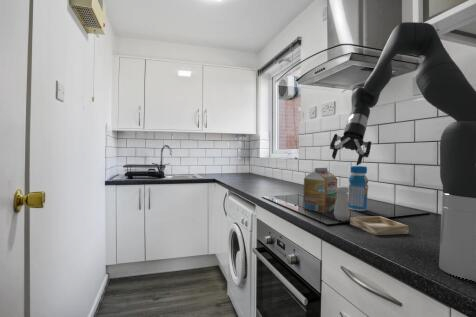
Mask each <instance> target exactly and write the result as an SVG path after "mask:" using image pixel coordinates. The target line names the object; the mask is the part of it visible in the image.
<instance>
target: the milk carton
mask: <svg viewBox="0 0 476 317" xmlns="http://www.w3.org/2000/svg"><path fill="white" fill-rule="evenodd" d="M337 187H338V178H337V177H336V176H335V175H334V174H333V173H331V172H330V171H328V167H314V171H312V172H309V173H308V174H307V175H305V177H304V178H303V197H302V198H303V199H302V204H303V205H302V209H303V208H304V210H307V209H308V211H312V210H313V211H312V212H318V213H321V212H323V213H322V214H326V213H330V212H334V211H333V210H334V208H335V204H336V200H337V196H338V192H337V191H336V189H337ZM325 212H326V213H325Z"/></svg>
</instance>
